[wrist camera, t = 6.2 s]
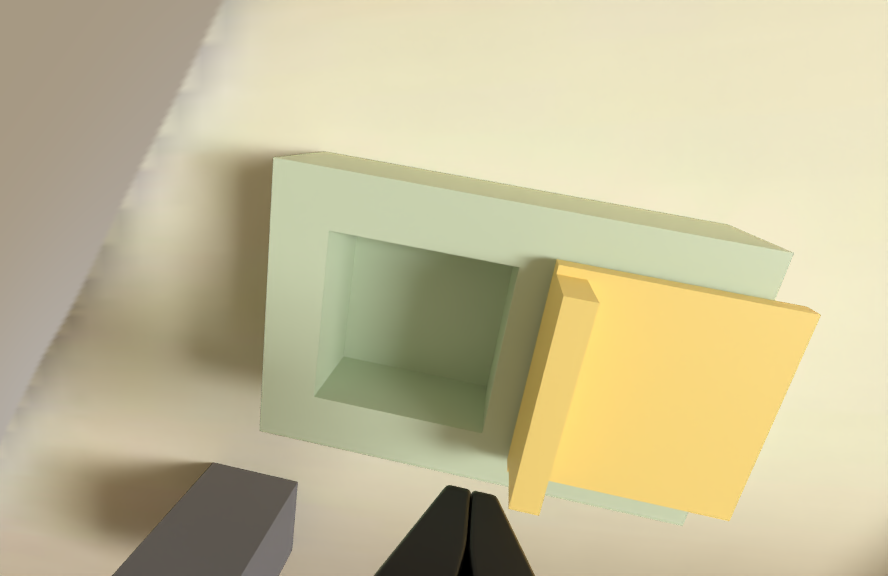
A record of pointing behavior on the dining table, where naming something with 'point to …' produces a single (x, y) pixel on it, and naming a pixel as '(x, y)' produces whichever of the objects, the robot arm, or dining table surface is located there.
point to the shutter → (652, 390)
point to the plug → (222, 528)
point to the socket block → (448, 305)
